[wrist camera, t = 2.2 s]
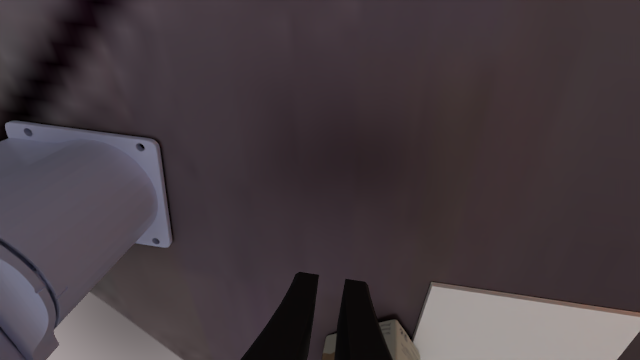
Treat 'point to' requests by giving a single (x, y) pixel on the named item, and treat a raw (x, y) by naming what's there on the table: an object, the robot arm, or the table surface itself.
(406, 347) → the skincare box
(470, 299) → the mat
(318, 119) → the table surface
